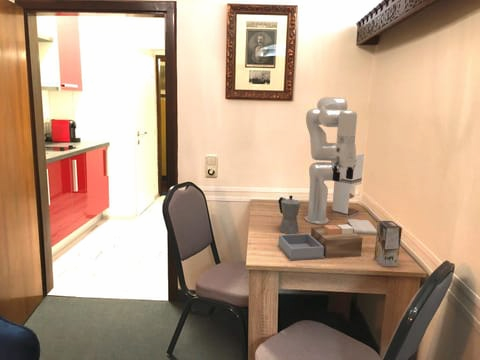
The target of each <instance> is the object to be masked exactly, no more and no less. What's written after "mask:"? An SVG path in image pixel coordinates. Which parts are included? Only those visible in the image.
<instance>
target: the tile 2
mask: <svg viewBox="0 0 480 360" xmlns="http://www.w3.org/2000/svg"><path fill="white" fill-rule="evenodd" d="M336 226H337V227H339V228H340V233H341V234H353V227H351V226H349V225H348V223H347V224H346V223H345V224H337V225H336Z"/></svg>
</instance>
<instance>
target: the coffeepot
mask: <svg viewBox="0 0 480 360" xmlns="http://www.w3.org/2000/svg"><path fill="white" fill-rule="evenodd" d="M278 206H279V212H280V214H282V218H281V221H280V222H281V223H280V227H279V231H280V233H282V234H284V235H291V234H298V232H299V225H298V224H299V223H298V217H297V216H299V210H300V207H301V201H299V200H298V199H294V198H293V195H289V198H285V197H282V196H281V197H279V198H278Z"/></svg>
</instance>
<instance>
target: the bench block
mask: <svg viewBox="0 0 480 360" xmlns="http://www.w3.org/2000/svg"><path fill="white" fill-rule="evenodd" d="M310 229H311V230H310V235H311V236H312V237H313V238H314V239H316V240H317V241H318V242H319V243H320V244H321V245H322V246H323V247H324V254H323V259H338V258H339V259H340V258H350V257H361V256H362V248H363V237H362V236H361V235H360V234H358V233H355V232H353V234H341V233H340V234H336V235H329V234H327V233H326V232H325V231H324V226H311V228H310Z"/></svg>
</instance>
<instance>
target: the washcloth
mask: <svg viewBox="0 0 480 360" xmlns="http://www.w3.org/2000/svg"><path fill="white" fill-rule="evenodd" d="M347 224H348V225H349V226H351V227H353V232H355V233H356V234H358V235H360V234H361V235H362V234H363V235H377V228H376V227H374V225H373V224H372V223H371V221H370V220H367V219H356V218H355V219H353V218H351V219H350V218H349V219H348V218H347Z"/></svg>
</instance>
